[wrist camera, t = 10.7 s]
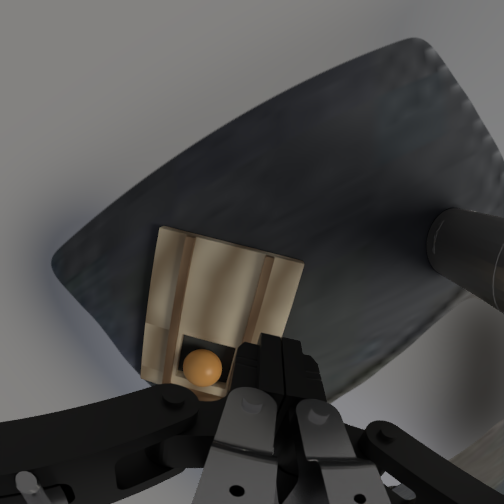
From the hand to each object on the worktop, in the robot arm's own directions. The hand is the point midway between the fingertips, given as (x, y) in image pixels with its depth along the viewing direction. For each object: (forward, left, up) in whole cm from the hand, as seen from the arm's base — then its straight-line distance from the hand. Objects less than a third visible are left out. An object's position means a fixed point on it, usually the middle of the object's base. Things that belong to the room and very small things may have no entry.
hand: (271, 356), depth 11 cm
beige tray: (+4, +12, -25) cm, 28 cm away
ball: (+4, +18, -22) cm, 29 cm away
